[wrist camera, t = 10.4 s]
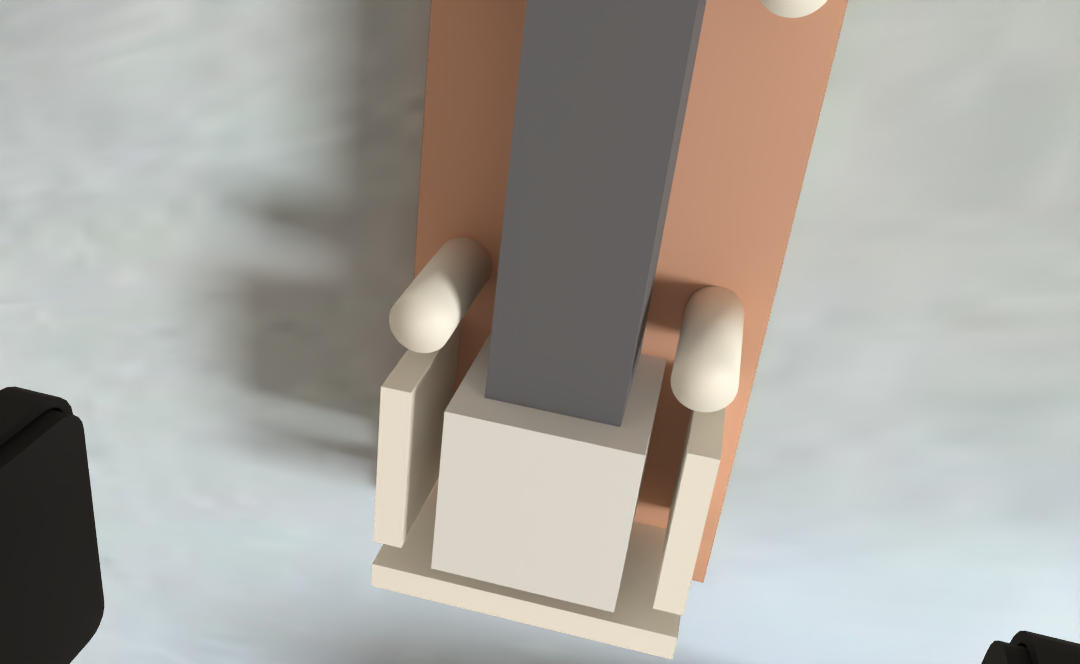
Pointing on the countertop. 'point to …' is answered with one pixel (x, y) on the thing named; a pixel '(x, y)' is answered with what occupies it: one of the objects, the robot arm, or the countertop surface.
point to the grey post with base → (571, 306)
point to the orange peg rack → (675, 307)
